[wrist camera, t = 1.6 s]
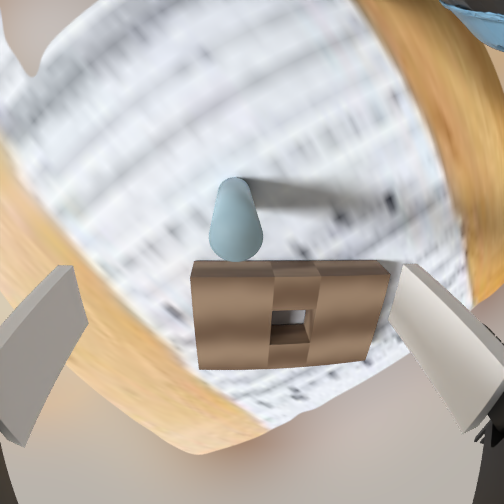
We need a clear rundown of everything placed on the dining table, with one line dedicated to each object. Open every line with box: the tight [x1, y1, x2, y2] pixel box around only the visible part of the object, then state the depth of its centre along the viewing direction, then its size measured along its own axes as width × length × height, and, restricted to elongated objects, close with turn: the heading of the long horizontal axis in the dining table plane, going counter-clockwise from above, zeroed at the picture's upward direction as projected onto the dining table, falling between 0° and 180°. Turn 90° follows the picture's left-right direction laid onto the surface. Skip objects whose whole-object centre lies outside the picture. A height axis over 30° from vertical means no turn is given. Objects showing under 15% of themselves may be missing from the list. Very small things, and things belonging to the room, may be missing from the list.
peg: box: [209, 177, 263, 262], centre depth 22 cm, size 3×3×12 cm
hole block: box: [190, 260, 391, 370], centre depth 31 cm, size 12×20×4 cm, turn 88°
